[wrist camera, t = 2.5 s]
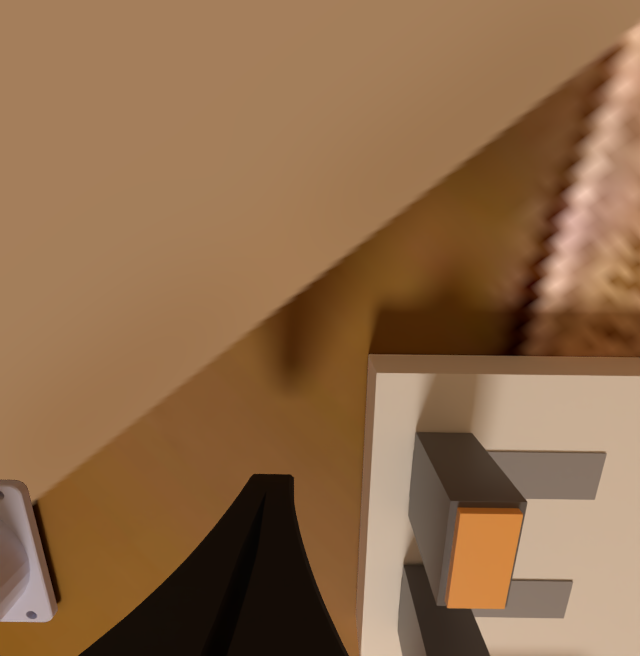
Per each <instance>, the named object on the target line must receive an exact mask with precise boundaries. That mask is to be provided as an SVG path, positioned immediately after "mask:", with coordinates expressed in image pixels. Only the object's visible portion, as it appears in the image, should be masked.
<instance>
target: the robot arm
mask: <svg viewBox="0 0 640 656" xmlns="http://www.w3.org/2000/svg"><path fill="white" fill-rule="evenodd" d="M57 611H58V607H57V603H56V599H55V595H54V591H53V587H52V583H51V579H50V575H49V571H48V567H47V563H46V560H45V556H44V552H43V548H42V544H41V540H40V536H39V532H38V528H37V524H36V520H35V516H34V512H33V508H32V504H31V500H30V496H29V492H28V488H27V486H26V485H25V484H24V483H23V482H20V481H17V480H0V621H7V622H47V621H50V620H51V619H52V618H53V616H54V615H55V614H56V612H57ZM78 656H349V655H348V653H347V651H346V649H345V647H344V645H343V643H342V641H341V639H340V637H339V635H338V633H337V630H336V628H335V626H334V624H333V622H332V619H331V617H330V615H329V613H328V611H327V609H326V606H325V604H324V602H323V599H322V597H321V594H320V592H319V589H318V587H317V584H316V581H315V578H314V576H313V573H312V570H311V567H310V564H309V561H308V558H307V555H306V552H305V548H304V545H303V542H302V538H301V534H300V530H299V526H298V521H297V516H296V511H295V505H294V477H292V476H291V475H285V474H254V475H252V476H251V477H250V479H249V480H248V482H247V483H246V485H245V486H244V488H243V489H242V491H241V492H240V494H239V495H238V497H237V498H236V499H235V501H234V502H233V503H232V505H231V506H230V507H229V509H228V510H227V511H226V513H225V514H224V515H223V516H222V518H221V519H220V520H219V522H218V523H217V524H216V525H215V527H214V528H213V529H212V530H211V531H210V533H209V534H208V535H207V536H206V537H205V538H204V540H203V541H202V542H201V543H200V544H199V545H198V547H197V548H196V549H195V550H194V551H193V552H192V553H191V554H190V555H189V557H188V558H187V559H186V560H185V561H184V562H183V563H182V564H181V565H180V566H179V567H178V568H177V569H176V570H175V571H174V572H173V573H172V574H171V575H170V576H169V577H168V578H167V579H166V580H165V581H164V582H163V583H162V584H161V585H160V586H159V587H158V588H157V589H156V590H155V591H154V592H153V593H152V594H150V595H149V596H148V597H147V598H146V599H145V600H144V601H143V602H142V603H141V604H140V605H139V606H137V607H136V608H135V609H134V610H133V611H132V612H131V613H130V614H128V615H127V616H126V617H125V618H124V619H123V620H121V621H120V622H119V623H118V624H117V625H115V626H114V627H113V628H112V629H110V630H109V631H108V632H107V633H106V634H104V635H103V636H102V637H101V638H99V639H98V640H97V641H96V642H95V643H93V644H92V645H91V646H90V647H89V648H87V649H86V650H85V651H83V652H82V653H81V654H80V655H78Z"/></svg>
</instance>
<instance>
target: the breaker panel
mask: <svg viewBox="0 0 640 656" xmlns="http://www.w3.org/2000/svg"><path fill="white" fill-rule="evenodd" d="M416 432H441V433H473V435H474V436H475V437H476V438H477V440H478V441H479V442H480V443H481V445H482V446H483V447H484V448H485V450H486V451H487V452H488V453H489V455H490V456H491V457H492V458H493V460H494V461H495V462H496V463H497V465H498V466H499V467H500V468H501V470H502V471H503V472H504V473H505V475H506V476H507V477H508V478H509V479H510V481H511V482H512V483H513V484H514V486H515V487H516V488H517V489H518V491H519V492H520V493H521V494H522V496H523V497H524V498H525V499H526V501H527V502H528V503H527V508H526V513H525V518H524V523H523V528H522V533H521V538H520V543H519V547H518V552H517V557H516V562H515V567H514V572H513V577H512V582H511V587H510V592H509V597H508V602H507V607H505V609H471V610H472V612H473V615H474V617H475V620H476V622H477V624H478V627H479V629H480V632H481V634H482V637H483V639H484V642H485V644H486V646H487V649H488V651H489V654H490V656H640V357H572V356H487V355H402V354H369V355H368V376H367V396H366V416H365V437H364V457H363V477H362V498H361V518H360V538H359V559H358V579H357V599H356V623H357V634H358V645H359V656H402V652H401V647H400V642H399V636H398V631H397V630H398V619H399V608H400V598H401V587H402V576H403V565H424V564H423V561H422V557H421V554H420V551H419V548H418V545H417V542H416V539H415V536H414V532H413V529H412V526H411V523H410V520H409V517H408V512H409V501H410V490H411V479H412V469H413V458H414V447H415V436H416Z"/></svg>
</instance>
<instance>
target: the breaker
mask: <svg viewBox="0 0 640 656" xmlns="http://www.w3.org/2000/svg"><path fill="white" fill-rule="evenodd" d="M397 631H398V636H399V642H400V647H401V652H402V656H490V654H489V651H488V649H487V646H486V644H485V642H484V639H483V637H482V634H481V632H480V629H479V627H478V624H477V622H476V620H475V617H474V615H473V612H472V610H471V609H467V608H447V606H437V605H436V601H435V598H434V595H433V592H432V589H431V586H430V583H429V579H428V576H427V573H426V570H425V567H424V565H403V576H402V587H401V598H400V608H399V619H398V630H397Z"/></svg>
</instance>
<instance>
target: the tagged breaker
mask: <svg viewBox="0 0 640 656" xmlns="http://www.w3.org/2000/svg"><path fill="white" fill-rule="evenodd" d="M527 503H528V502H527V501H526V499H525V498H524V497H523V496H522V494H521V493H520V492H519V491H518V489H517V488H516V487H515V486H514V484H513V483H512V482H511V481H510V479H509V478H508V477H507V476H506V475H505V473H504V472H503V471H502V470H501V468H500V467H499V466H498V465H497V463H496V462H495V461H494V460H493V458H492V457H491V456H490V455H489V453H488V452H487V451H486V450H485V448H484V447H483V446H482V445H481V443H480V442H479V441H478V440H477V438H476V437H475V436H474V435H473V433H441V432H416V436H415V447H414V458H413V469H412V479H411V490H410V501H409V512H408V517H409V520H410V523H411V526H412V529H413V532H414V536H415V539H416V542H417V545H418V548H419V551H420V554H421V557H422V561H423V564H424V567H425V570H426V573H427V576H428V579H429V583H430V586H431V589H432V592H433V595H434V598H435V601H436V605H437V606H447V608H467V609H505V607H507V602H508V597H509V592H510V587H511V582H512V577H513V572H514V567H515V562H516V557H517V552H518V547H519V543H520V538H521V533H522V528H523V523H524V518H525V513H526V508H527Z"/></svg>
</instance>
